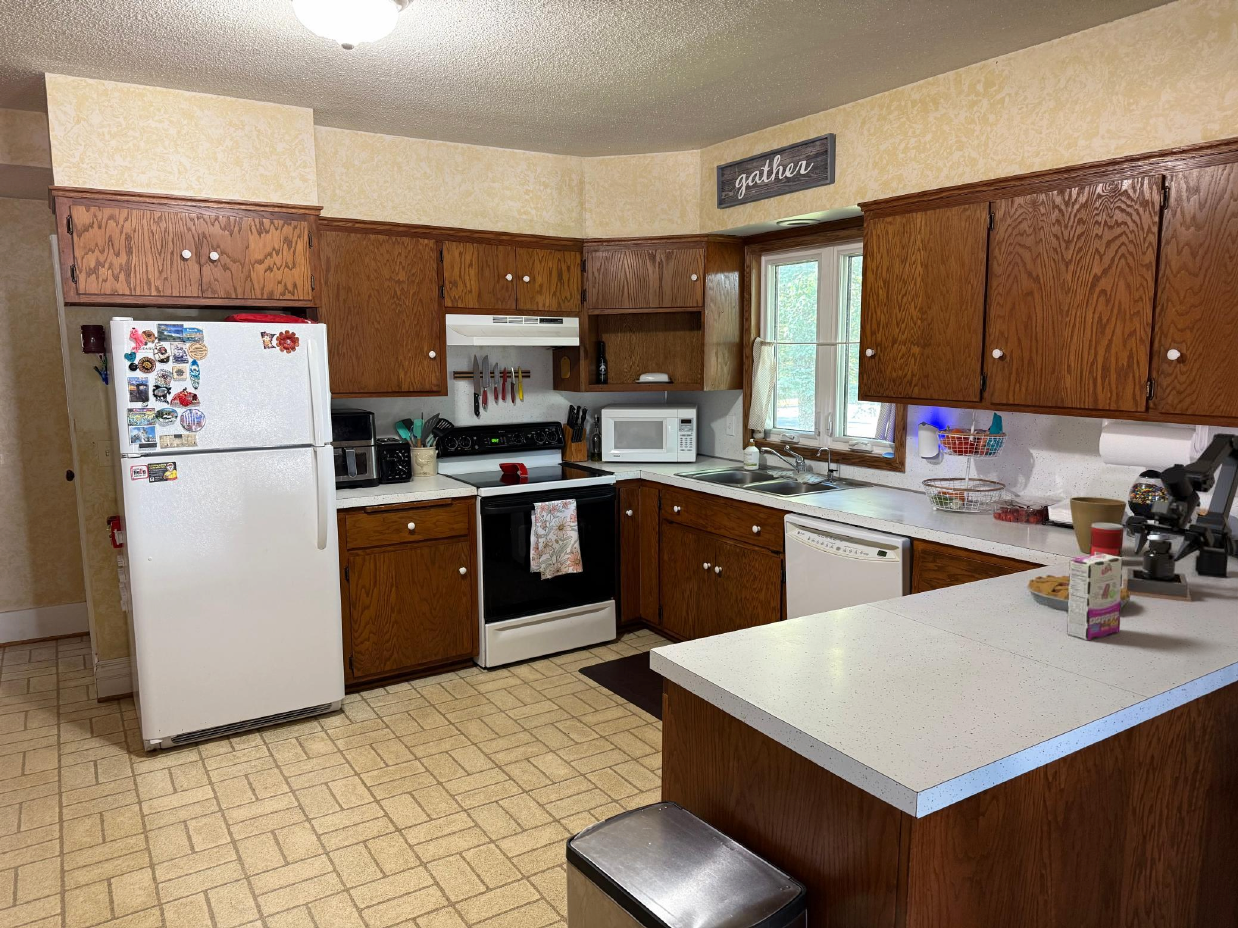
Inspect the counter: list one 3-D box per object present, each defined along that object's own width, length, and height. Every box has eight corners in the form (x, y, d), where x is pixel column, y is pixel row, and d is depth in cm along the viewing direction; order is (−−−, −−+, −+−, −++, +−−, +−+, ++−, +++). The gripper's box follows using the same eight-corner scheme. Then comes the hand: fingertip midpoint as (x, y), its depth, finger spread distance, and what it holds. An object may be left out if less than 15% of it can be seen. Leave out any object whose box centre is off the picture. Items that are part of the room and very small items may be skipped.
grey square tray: (1187, 588, 215) (1188, 573, 215) (1190, 601, 203) (1192, 586, 203) (1123, 581, 222) (1124, 567, 222) (1123, 593, 210) (1124, 578, 210)
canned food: (1125, 566, 239) (1128, 527, 237) (1094, 565, 240) (1096, 527, 239) (1115, 560, 246) (1117, 522, 245) (1085, 559, 248) (1087, 522, 247)
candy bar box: (1097, 626, 185) (1102, 552, 183) (1120, 633, 180) (1125, 557, 178) (1064, 634, 179) (1068, 558, 178) (1086, 641, 175) (1091, 563, 173)
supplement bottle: (1134, 586, 214) (1138, 539, 213) (1152, 583, 217) (1155, 537, 216) (1162, 592, 208) (1165, 544, 207) (1179, 589, 211) (1182, 542, 209)
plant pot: (1127, 559, 247) (1130, 505, 245) (1069, 555, 253) (1072, 502, 251) (1118, 548, 261) (1121, 497, 259) (1064, 545, 266) (1067, 495, 265)
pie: (1013, 604, 203) (1014, 584, 202) (1042, 586, 218) (1043, 567, 218) (1116, 622, 188) (1118, 600, 187) (1139, 602, 204) (1141, 582, 203)
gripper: (1131, 484, 220) (1105, 531, 215) (1212, 493, 204) (1186, 543, 199) (1145, 511, 225) (1120, 557, 220) (1225, 522, 209) (1200, 572, 204)
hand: (1155, 557), depth 211 cm, fingers open, 9 cm apart
